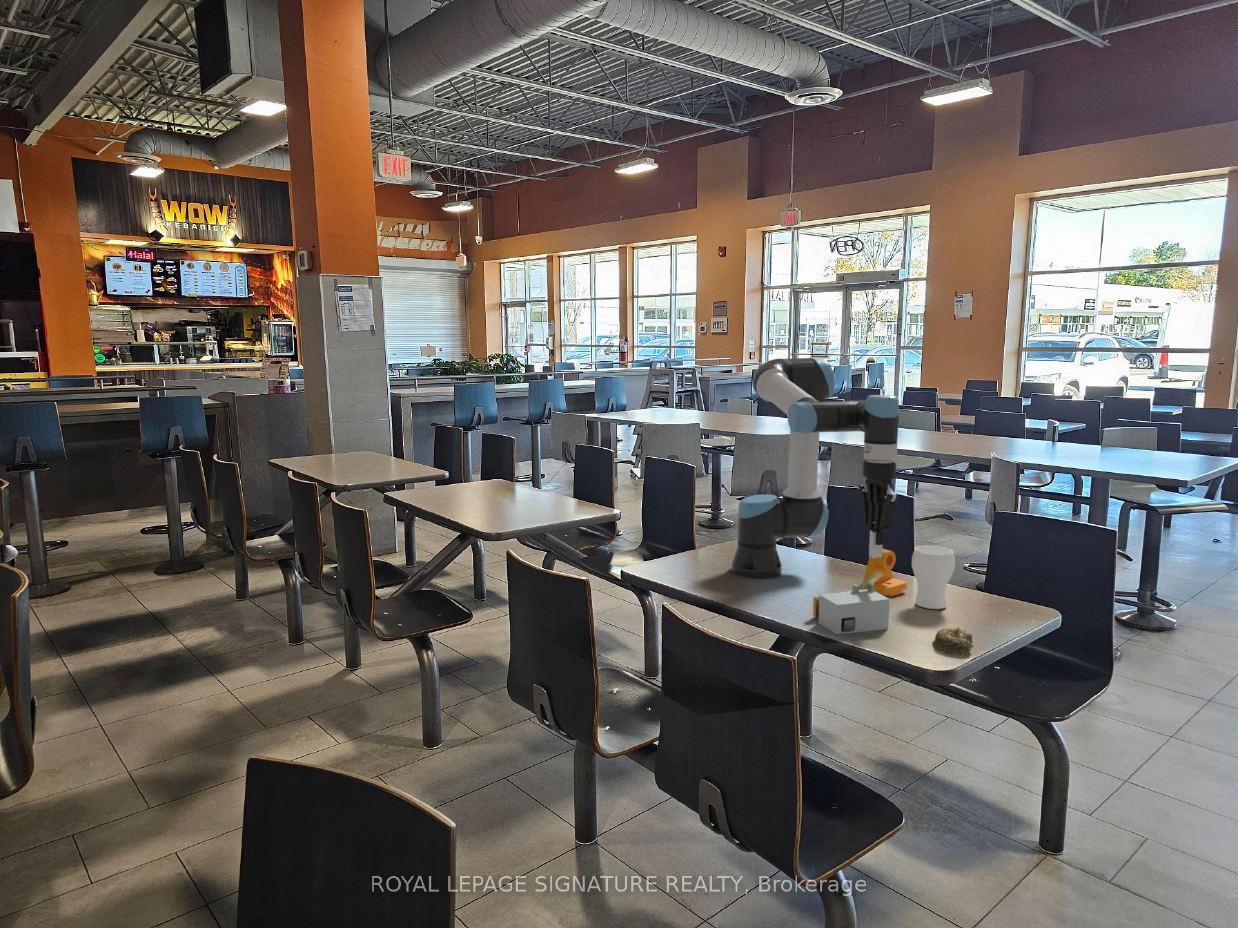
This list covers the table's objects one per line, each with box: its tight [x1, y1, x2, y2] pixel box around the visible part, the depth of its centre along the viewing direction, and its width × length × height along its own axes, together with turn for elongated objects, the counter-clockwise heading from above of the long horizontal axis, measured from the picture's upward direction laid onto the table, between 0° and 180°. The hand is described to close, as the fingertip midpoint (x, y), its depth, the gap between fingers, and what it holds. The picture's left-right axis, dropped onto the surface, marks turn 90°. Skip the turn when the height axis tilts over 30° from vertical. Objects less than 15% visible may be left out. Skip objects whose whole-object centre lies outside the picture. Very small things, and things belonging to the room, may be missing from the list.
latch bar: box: [857, 572, 884, 590], centre depth 193 cm, size 9×3×1 cm
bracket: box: [862, 548, 907, 598], centre depth 220 cm, size 11×7×12 cm, turn 126°
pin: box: [812, 596, 854, 630], centre depth 194 cm, size 12×5×5 cm, turn 16°
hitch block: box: [818, 583, 891, 635], centre depth 193 cm, size 8×14×10 cm, turn 106°
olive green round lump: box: [931, 627, 974, 656], centre depth 180 cm, size 10×10×5 cm
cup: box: [911, 544, 956, 610], centre depth 209 cm, size 11×11×15 cm
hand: (875, 556), depth 190 cm, fingers closed
